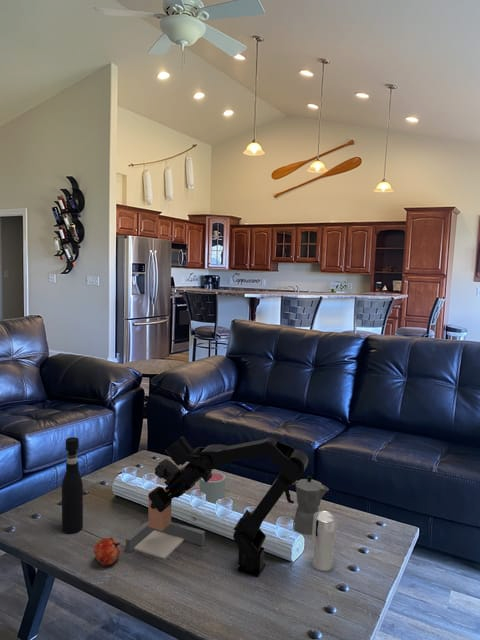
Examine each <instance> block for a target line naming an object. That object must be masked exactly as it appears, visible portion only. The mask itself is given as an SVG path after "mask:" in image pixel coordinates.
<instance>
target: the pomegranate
mask: <svg viewBox="0 0 480 640" xmlns="http://www.w3.org/2000/svg"><path fill="white" fill-rule="evenodd" d="M120 545H122V543H121V542H117V540H116V539H115V538H114V537H104V538H101V539H100V540H98V541H97V543H96V544H95V545H94V547H93V553H94V555H95V558H93V559H94V561H96V560H97V561H98V562H99V563H100V564H101V565H102V566H110V565H113V564H114V563H116V561H117V560H118V559H119V557H120V555H121V551H122V548H121V546H120Z"/></svg>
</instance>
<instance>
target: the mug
mask: <svg viewBox="0 0 480 640" xmlns="http://www.w3.org/2000/svg"><path fill="white" fill-rule="evenodd" d="M211 473H212V477H211V478H210V480H209V481H208V482H205V481H204V480H203V478H201V479H200V480H199V493H200V492H203V493H205V494H206V500H207V501H208V502H211V503H216V501H217V500H218V499H222V498H225V499H226V475H225V474H224V473H222V472H219V471H212V472H211Z"/></svg>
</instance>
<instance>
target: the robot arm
mask: <svg viewBox="0 0 480 640" xmlns="http://www.w3.org/2000/svg"><path fill="white" fill-rule="evenodd" d="M164 451H165V452H166V454H167V455H168V456H169V458H170V459H171V460H172V461H173V462H174V463H173V462H172V461H171V460H169V459H167V458H164V459H163V460H161V461H160V462H158V464H157V466H156V467H155V468H154V474H155V476H157V477H158V478H159V479H163V480H165V481H164V482H163V483H164V485H165V486H166V487H165V489H166V490H168V489H169V490H168V491H167V492H165V490H164V489H163V488H162V487H163V486H161V487H157V486H156V487H157V488H156V487H155V488H156V489H155V490H153V489H152V490H153V491H152V492H151V493H150V494H149V493H148V494H147V495H148V500H149V499H150V500H151V501H152V504H151V505H150V507H151V508H152V509H156V508H157V510H158V511H159V512H162V511H163V510H165V509H166V508H167V507H168V506H170V505H171V506H172V501H173V499H175V498H176V499H178V498H179V497H181V496H183V495H184V494H185V493H186V492H187V491H189V490H190V489H192V488H193V487H194V486H195V485H196V483H197V482H198V481H200V479H201V478H203V480H204V481H205V482H208V481H209V480H210V478H211V477H212V473H211V472H212V470H216V469H218V468H220V467H222V466H224V465H226V464H228V463H230V462H236V461H242V460H247V459H248V460H249V459H253V458H258V457H259V458H260V457H264V456H266V457H268V458H269V459H270V460H271V461H272V462H273V463H274V464H275V465H276V467H278V468H279V469H280V472H279V474H278V475H277V477H276V479H275V480H274V482H273V483H272V485H271V486H270V487H269V488H268V490H267V491H266V493H265V494H264V495H263V497H262V498H261V500H260V501H259V503H258V504H257V505H256V507H255V508H254V510H253V509H252V511H249V510H248V509H246V510H245V512H244V513H243V515H242V516H241V517H239V520H238V521H237V523H236V524H235V526H234V527H233V531H234V532H233V540H234V541H235V543H236V545H237V548H238V555H237V556H238V557H237V558H238V559H237V561H238V562H237V565H238V567H237V569H236V571H237V572H239V573H242V574H246V575H249V576H253V577H255V578H258V577H259V576H260V575H261V573H262V572H263V570H264V568H265V567H266V563H265V560H264V559H265V547H264V546H263V545H264V542H265V540H266V538H267V536H266V534H265V533H264V532H263V531H262V530H261V526H262V523H263V522H264V520H265V519H266V517H267V516H268V514H269V513H270V512H271V511H272V509H273V508H274V507H275V506H276V505H277V502H278V501H279V500H280V498H281V496H282V495H284V494H285V490H286V489H287V487H290V486H291V484H293V483H294V482H295V481H296V480H297V481H299V480H300V478H301V477H302V476H303V475H304V474H305V470H306V468H307V467H308V464H309V457H308V455H307V454H306V452H305V451H303V450H301V449H297V448H295V447H293V446H292V445H290V444H287V443H284V442H282V441H279V440H278V439H276V438H274V437H273V436H272V437H271V436H270V437H266V438H264V439H258V440H253V441H248V442H244V443H238V444H231V445H224V444H210V445H207V446H200V447H199V446H197V447H195V449H194V448H193V447H191V444H190V443H189V442H188V441H187V439H186V437H185V436H181V437H179V438H178V439H176V440H175V441H174V442H173V443H171V444H170V445H169V446H168V447H167V448H166V449H164ZM187 462H188V463H187ZM186 463H187V464H186ZM184 464H186V465H184ZM183 465H184V466H183ZM179 466H183V467H181V468H179ZM170 493H171V494H170ZM169 494H170V495H169ZM168 495H169V496H168ZM262 546H263V547H262Z"/></svg>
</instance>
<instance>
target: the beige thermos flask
mask: <svg viewBox="0 0 480 640" xmlns="http://www.w3.org/2000/svg"><path fill="white" fill-rule="evenodd" d="M337 523H338V522H337V516H336V514H334V513H333V512H330V511H327V510H320V511H319V510H318V512H316V513H315V514H314V518H313V526H312V534H311V536H312V545H313V557H312V560H311V565H312V567H313V568H314V569H316V570H317V571H320V572H328V571H331V570H332V569H333V567H334V564H333V563H334V562H333V551H334V548H335V547H334V546H335V543H336V538H337Z"/></svg>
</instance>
